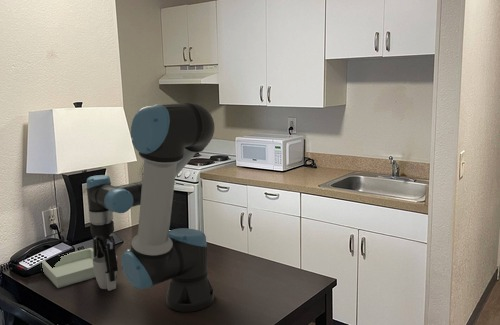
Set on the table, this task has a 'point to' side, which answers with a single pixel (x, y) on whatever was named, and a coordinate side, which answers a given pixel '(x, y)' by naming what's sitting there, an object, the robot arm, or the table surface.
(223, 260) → the table surface
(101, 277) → the cup
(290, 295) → the table surface
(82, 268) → the bin
